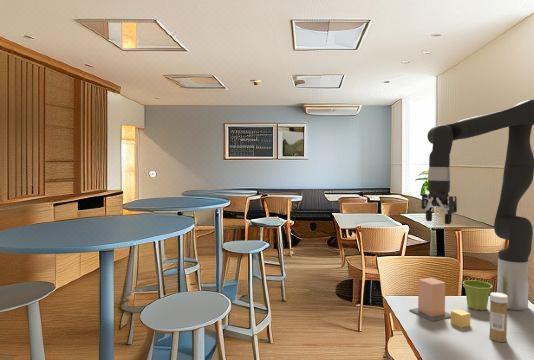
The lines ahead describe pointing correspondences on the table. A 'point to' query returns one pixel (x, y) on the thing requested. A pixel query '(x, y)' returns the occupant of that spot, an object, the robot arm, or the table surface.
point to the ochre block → (460, 318)
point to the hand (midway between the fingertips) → (438, 222)
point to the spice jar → (498, 316)
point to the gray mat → (430, 316)
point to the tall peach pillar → (431, 297)
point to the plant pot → (477, 294)
